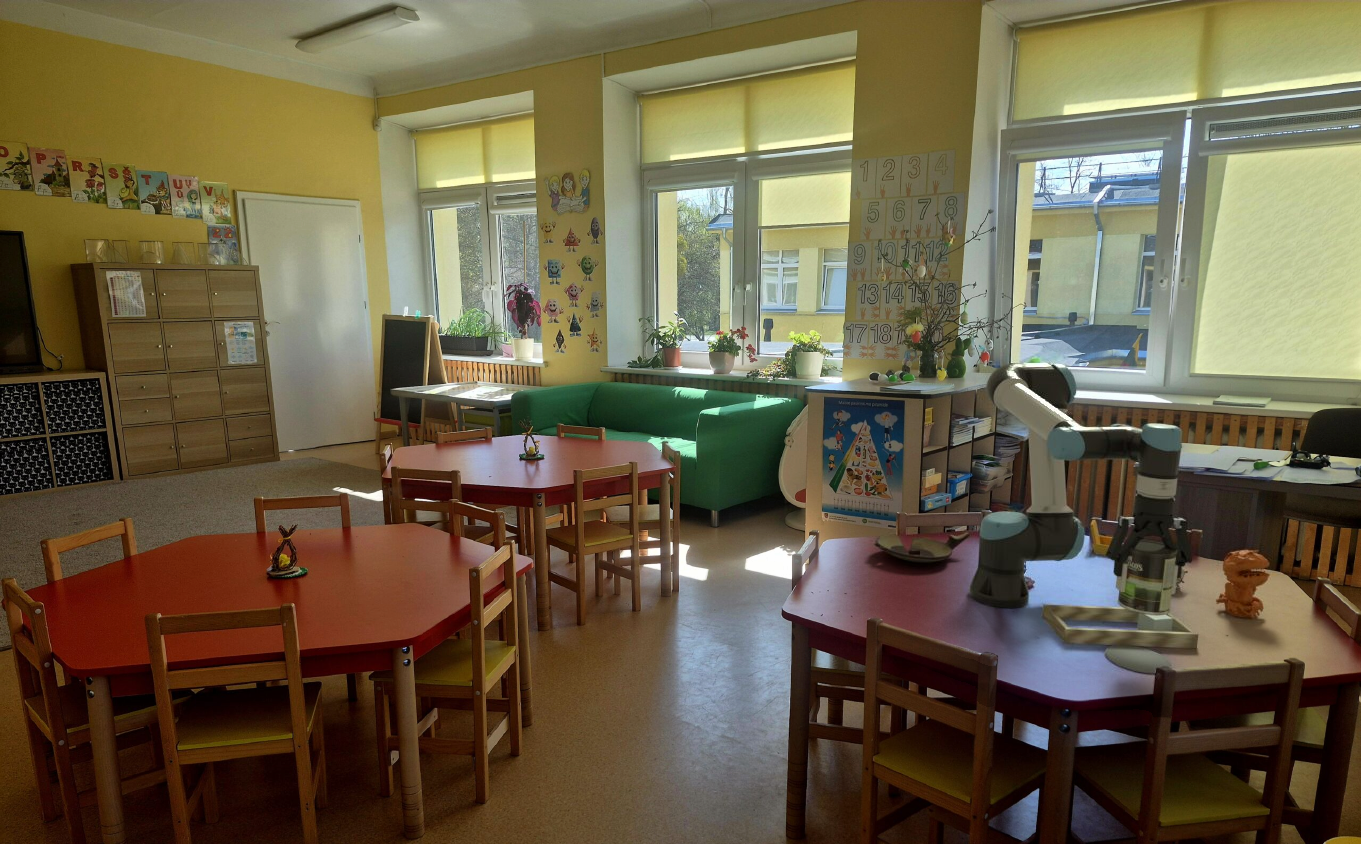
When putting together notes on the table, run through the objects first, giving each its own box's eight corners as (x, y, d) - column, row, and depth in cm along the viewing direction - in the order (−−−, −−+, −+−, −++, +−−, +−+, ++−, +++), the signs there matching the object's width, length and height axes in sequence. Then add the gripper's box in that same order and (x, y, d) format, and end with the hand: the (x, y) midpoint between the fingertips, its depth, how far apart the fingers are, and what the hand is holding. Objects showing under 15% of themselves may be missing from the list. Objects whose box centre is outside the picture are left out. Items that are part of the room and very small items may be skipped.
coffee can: (1137, 616, 169) (1143, 554, 167) (1107, 598, 180) (1113, 539, 177) (1181, 615, 170) (1188, 553, 168) (1149, 597, 180) (1156, 538, 178)
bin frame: (1065, 642, 186) (1066, 629, 185) (1041, 617, 200) (1042, 604, 200) (1196, 648, 183) (1198, 634, 183) (1163, 621, 198) (1164, 608, 197)
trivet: (1121, 672, 171) (1121, 670, 171) (1095, 645, 184) (1095, 643, 184) (1182, 674, 170) (1183, 672, 170) (1152, 648, 183) (1152, 646, 183)
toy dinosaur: (1251, 625, 196) (1260, 557, 193) (1205, 609, 206) (1213, 544, 203) (1274, 617, 201) (1284, 550, 198) (1229, 602, 211) (1237, 538, 208)
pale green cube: (1152, 639, 188) (1154, 619, 187) (1137, 630, 193) (1139, 611, 192) (1170, 637, 189) (1172, 618, 188) (1154, 629, 194) (1157, 610, 193)
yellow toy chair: (1120, 558, 246) (1123, 530, 245) (1086, 552, 251) (1089, 525, 250) (1123, 549, 255) (1126, 522, 253) (1090, 544, 260) (1093, 517, 258)
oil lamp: (870, 545, 257) (871, 523, 256) (965, 551, 252) (966, 528, 251) (875, 568, 236) (877, 544, 234) (979, 575, 231) (981, 550, 229)
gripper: (1109, 497, 168) (1100, 595, 172) (1219, 500, 166) (1207, 598, 170) (1094, 489, 175) (1085, 582, 179) (1199, 491, 174) (1188, 586, 177)
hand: (1145, 590), depth 174 cm, fingers closed on coffee can, 10 cm apart
